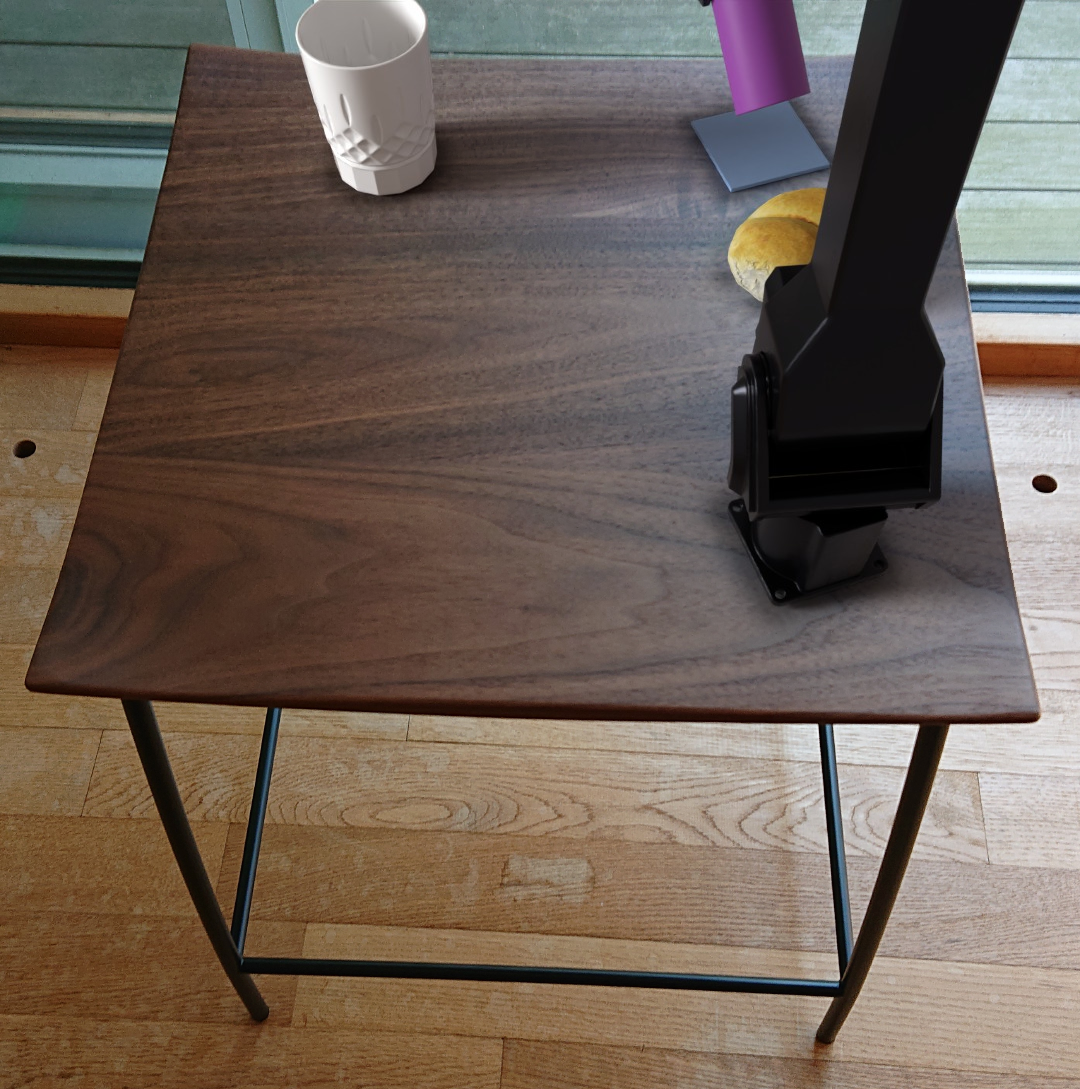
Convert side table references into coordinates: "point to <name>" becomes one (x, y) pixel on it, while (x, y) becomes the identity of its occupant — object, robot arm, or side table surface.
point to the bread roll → (776, 237)
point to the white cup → (372, 89)
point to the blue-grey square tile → (759, 146)
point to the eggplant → (761, 52)
